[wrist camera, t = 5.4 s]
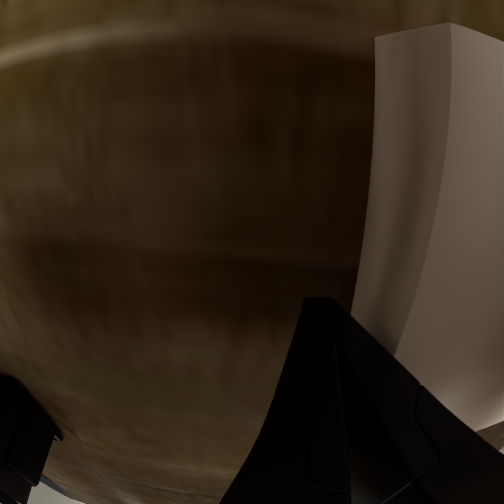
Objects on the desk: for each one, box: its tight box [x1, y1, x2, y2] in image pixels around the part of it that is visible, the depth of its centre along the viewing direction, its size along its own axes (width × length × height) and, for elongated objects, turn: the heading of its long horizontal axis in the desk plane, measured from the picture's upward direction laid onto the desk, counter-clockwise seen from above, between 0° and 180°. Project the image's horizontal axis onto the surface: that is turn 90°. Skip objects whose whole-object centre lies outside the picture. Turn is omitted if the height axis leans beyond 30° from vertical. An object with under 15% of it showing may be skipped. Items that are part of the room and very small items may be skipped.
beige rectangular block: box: [351, 22, 504, 431], centre depth 7 cm, size 8×12×4 cm, turn 2°
